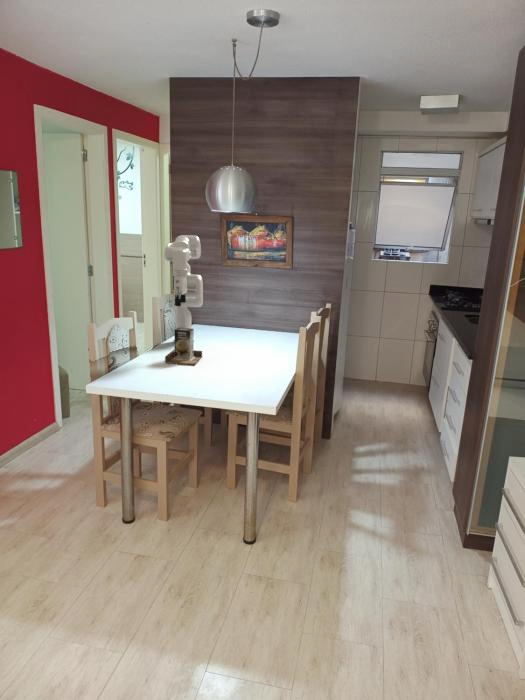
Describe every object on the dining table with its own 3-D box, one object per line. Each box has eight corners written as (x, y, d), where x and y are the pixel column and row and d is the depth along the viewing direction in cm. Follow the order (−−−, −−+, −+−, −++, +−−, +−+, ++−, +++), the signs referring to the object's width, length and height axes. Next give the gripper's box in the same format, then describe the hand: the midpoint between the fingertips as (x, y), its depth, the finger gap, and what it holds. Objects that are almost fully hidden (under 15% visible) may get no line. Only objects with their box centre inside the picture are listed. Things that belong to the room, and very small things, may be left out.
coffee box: (174, 358, 285) (173, 329, 281) (178, 355, 291) (177, 327, 287) (190, 359, 284) (190, 330, 280) (194, 356, 290) (193, 328, 286)
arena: (174, 356, 294) (174, 349, 293) (202, 357, 292) (202, 350, 291) (165, 363, 279) (165, 356, 278) (194, 365, 277) (194, 358, 276)
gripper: (182, 275, 272) (182, 307, 277) (190, 270, 288) (191, 301, 293) (168, 274, 273) (169, 307, 278) (177, 270, 289) (178, 300, 294)
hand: (180, 304), depth 286 cm, fingers open, 9 cm apart
